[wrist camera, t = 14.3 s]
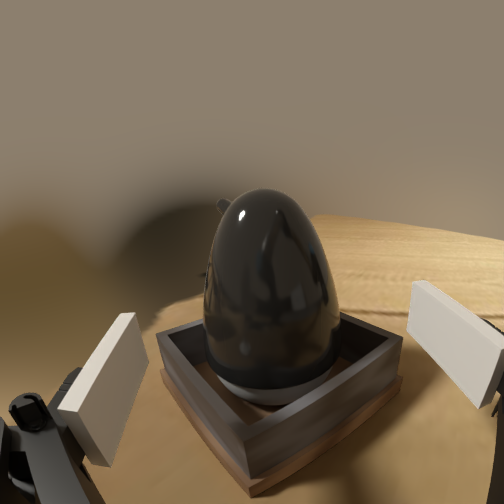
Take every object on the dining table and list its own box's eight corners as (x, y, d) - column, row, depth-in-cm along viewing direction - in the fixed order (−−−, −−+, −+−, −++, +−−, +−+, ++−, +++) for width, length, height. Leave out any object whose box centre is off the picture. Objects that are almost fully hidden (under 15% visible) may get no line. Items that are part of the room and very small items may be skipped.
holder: (288, 331, 34) (286, 286, 33) (399, 390, 22) (410, 336, 20) (163, 382, 26) (149, 333, 25) (250, 498, 14) (240, 450, 13)
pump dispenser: (280, 336, 31) (269, 181, 26) (363, 378, 22) (372, 182, 18) (190, 376, 25) (157, 198, 21) (264, 449, 17) (238, 201, 13)
